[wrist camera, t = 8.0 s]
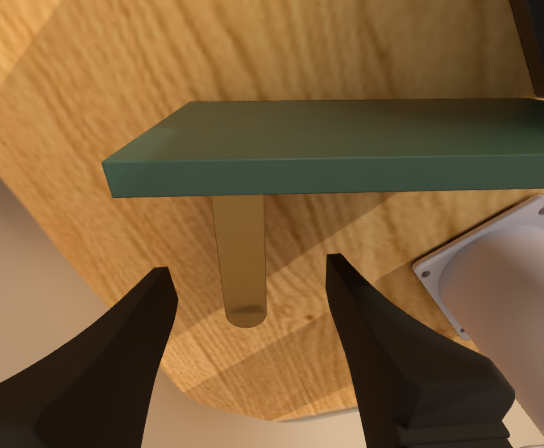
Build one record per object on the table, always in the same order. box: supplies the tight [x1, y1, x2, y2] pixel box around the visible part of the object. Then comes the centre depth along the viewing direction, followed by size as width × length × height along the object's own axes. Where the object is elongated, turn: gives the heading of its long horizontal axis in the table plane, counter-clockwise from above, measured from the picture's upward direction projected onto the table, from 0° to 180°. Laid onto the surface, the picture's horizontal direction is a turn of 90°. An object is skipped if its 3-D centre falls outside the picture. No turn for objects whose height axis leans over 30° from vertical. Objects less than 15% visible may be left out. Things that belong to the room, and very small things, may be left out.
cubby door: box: [102, 98, 544, 328], centre depth 11 cm, size 6×16×8 cm, turn 90°
